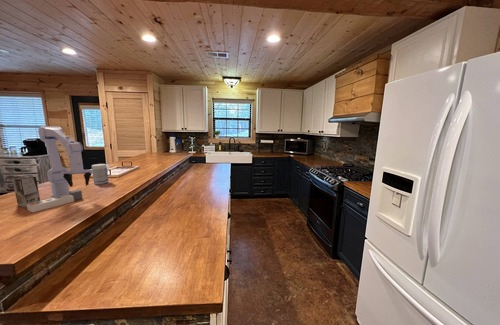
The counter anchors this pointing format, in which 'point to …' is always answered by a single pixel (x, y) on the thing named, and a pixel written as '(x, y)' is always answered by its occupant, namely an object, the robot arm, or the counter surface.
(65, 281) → the counter surface
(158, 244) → the counter surface
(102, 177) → the supplement tub
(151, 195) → the counter surface
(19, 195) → the coffee box
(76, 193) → the charger
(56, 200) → the power strip
